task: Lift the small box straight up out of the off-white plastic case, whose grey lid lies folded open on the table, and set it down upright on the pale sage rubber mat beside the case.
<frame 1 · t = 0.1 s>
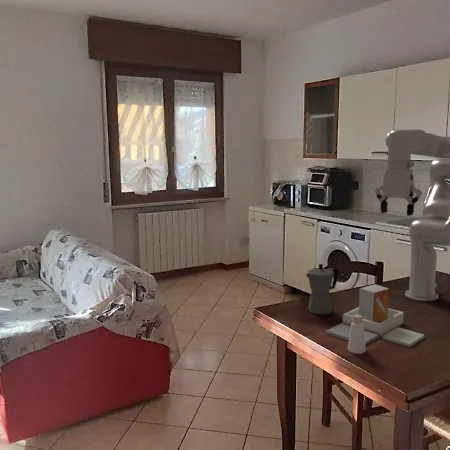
hand: (396, 213, 169), 37 cm above the table, tool pointing down, fingers open, 9 cm apart
small box: (372, 324, 164), resting in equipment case
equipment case: (372, 324, 164), on the table
coffeepot: (322, 310, 179), on the table
pepper shaker: (356, 350, 144), on the table
rubber mat: (403, 338, 152), on the table
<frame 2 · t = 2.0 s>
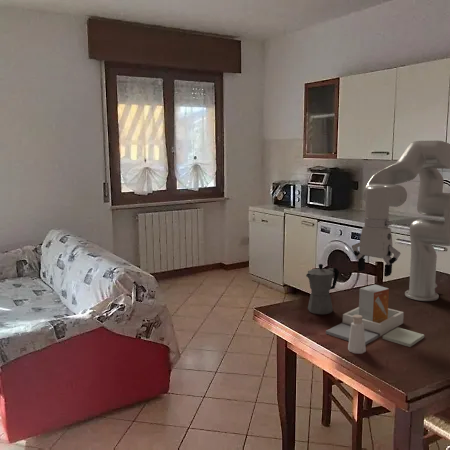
hand: (374, 273, 161), 18 cm above the table, tool pointing down, fingers open, 9 cm apart
nothing on the table moved.
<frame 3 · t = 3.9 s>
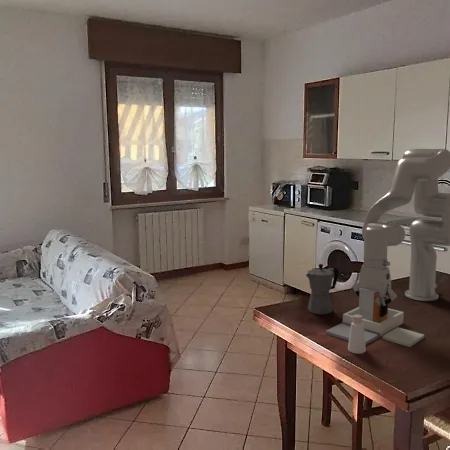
hand: (373, 312, 163), 4 cm above the table, tool pointing down, fingers closed on small box, 6 cm apart
small box: (372, 324, 164), resting in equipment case, touching gripper
everything else where it was.
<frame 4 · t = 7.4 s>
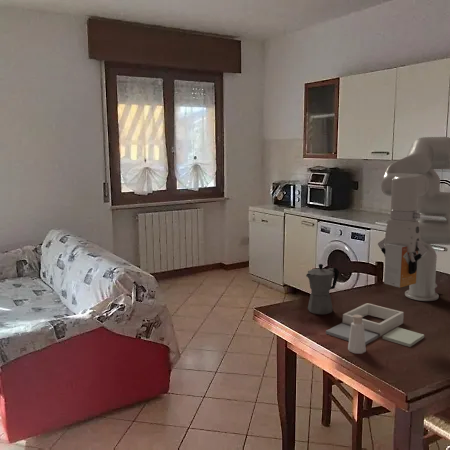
hand: (400, 270, 150), 22 cm above the table, tool pointing down, fingers closed on small box, 6 cm apart
small box: (400, 284, 151), point 17 cm above the table, touching gripper
everything else where it was.
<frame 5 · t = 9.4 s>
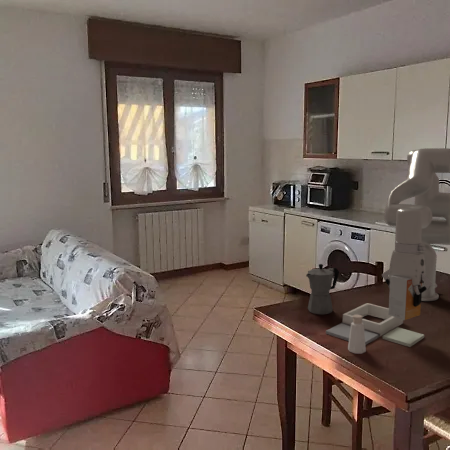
hand: (405, 302, 150), 12 cm above the table, tool pointing down, fingers closed on small box, 6 cm apart
small box: (404, 315, 151), point 8 cm above the table, touching gripper
everything else where it was.
when the fingers open (7 cm above the table, at t = 11.0 s): small box drops 1 cm, resting on rubber mat.
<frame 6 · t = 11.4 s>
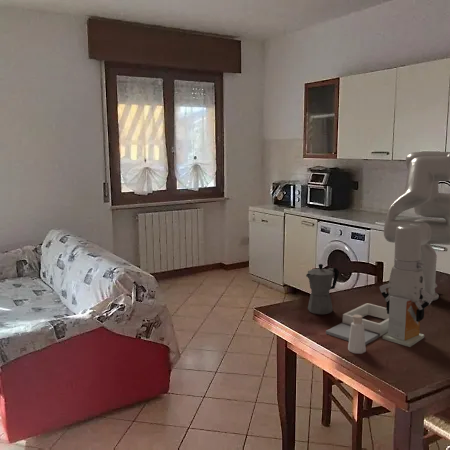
hand: (404, 316, 151), 7 cm above the table, tool pointing down, fingers open, 9 cm apart
small box: (403, 335, 152), point 1 cm above the table, touching rubber mat
everything else where it was.
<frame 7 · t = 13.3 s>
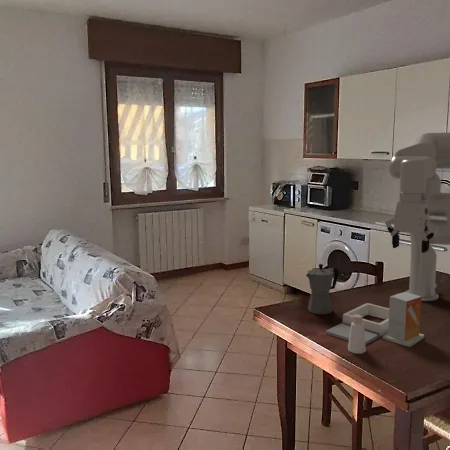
hand: (409, 249, 155), 27 cm above the table, tool pointing down, fingers open, 9 cm apart
nothing on the table moved.
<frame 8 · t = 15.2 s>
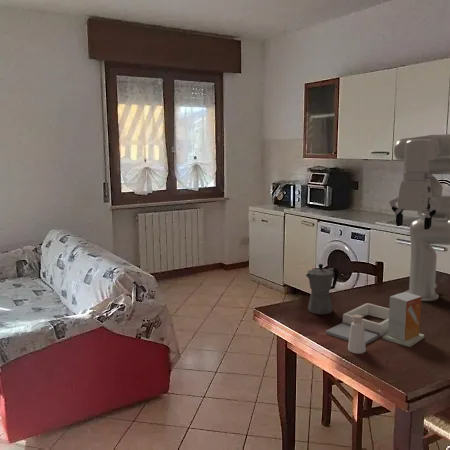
hand: (413, 227, 162), 33 cm above the table, tool pointing down, fingers open, 9 cm apart
nothing on the table moved.
at the end: small box inside the target area on the rubber mat (0.2 cm from its centre), point 0.8 cm above the rubber mat's base; small box tilted 0°; the gripper is holding nothing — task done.
